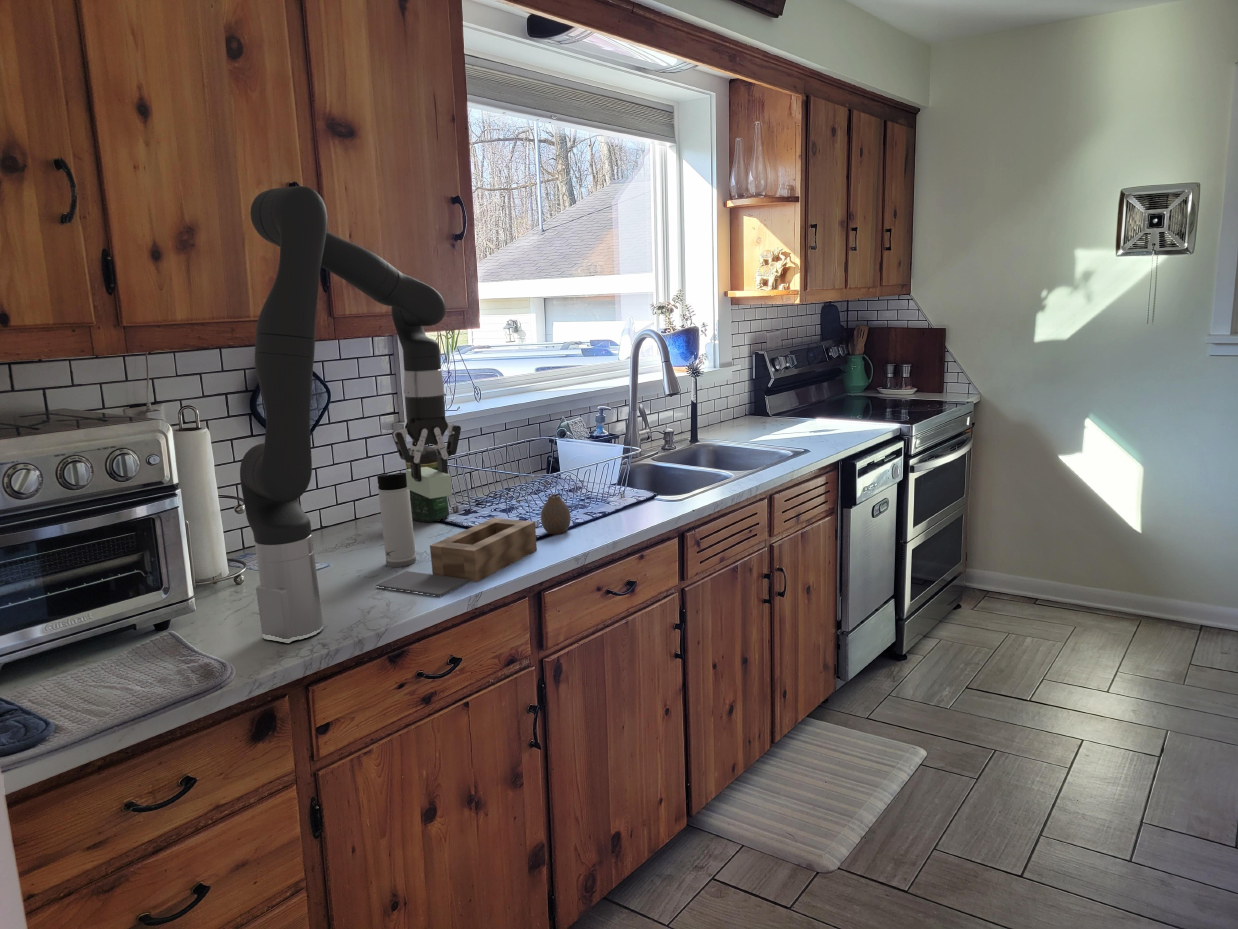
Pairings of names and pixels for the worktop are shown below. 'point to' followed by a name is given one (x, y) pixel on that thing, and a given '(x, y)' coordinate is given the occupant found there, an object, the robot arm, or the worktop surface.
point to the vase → (555, 515)
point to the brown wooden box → (483, 549)
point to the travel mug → (396, 520)
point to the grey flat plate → (423, 583)
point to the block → (430, 483)
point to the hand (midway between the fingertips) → (430, 478)
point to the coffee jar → (423, 505)
